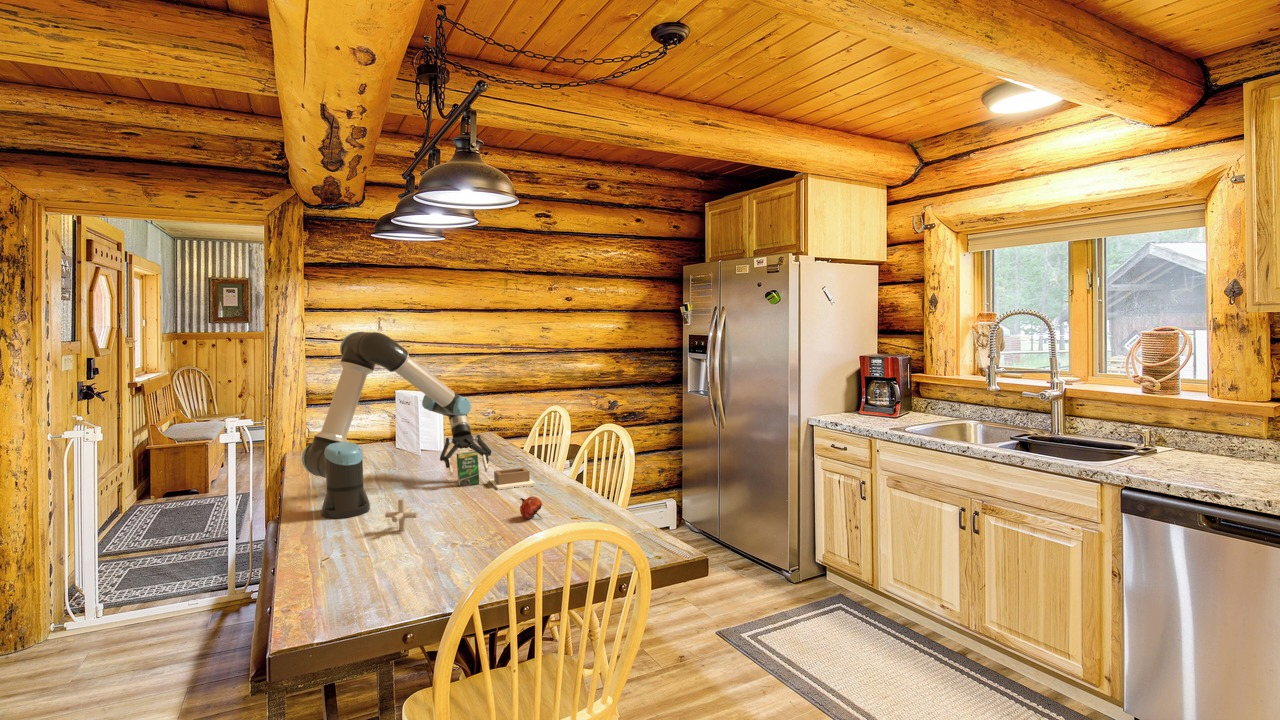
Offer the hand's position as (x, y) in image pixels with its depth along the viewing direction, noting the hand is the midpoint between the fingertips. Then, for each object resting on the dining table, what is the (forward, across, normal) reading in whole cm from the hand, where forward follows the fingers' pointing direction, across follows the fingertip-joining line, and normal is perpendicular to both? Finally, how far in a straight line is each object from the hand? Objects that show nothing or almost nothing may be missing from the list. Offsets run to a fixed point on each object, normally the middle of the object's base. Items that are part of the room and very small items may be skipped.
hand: (469, 472), depth 256 cm
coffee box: (+3, 0, -6) cm, 6 cm away
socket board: (+7, -16, -1) cm, 17 cm away
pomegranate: (+40, -10, +32) cm, 52 cm away
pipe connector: (+35, +30, +27) cm, 53 cm away
